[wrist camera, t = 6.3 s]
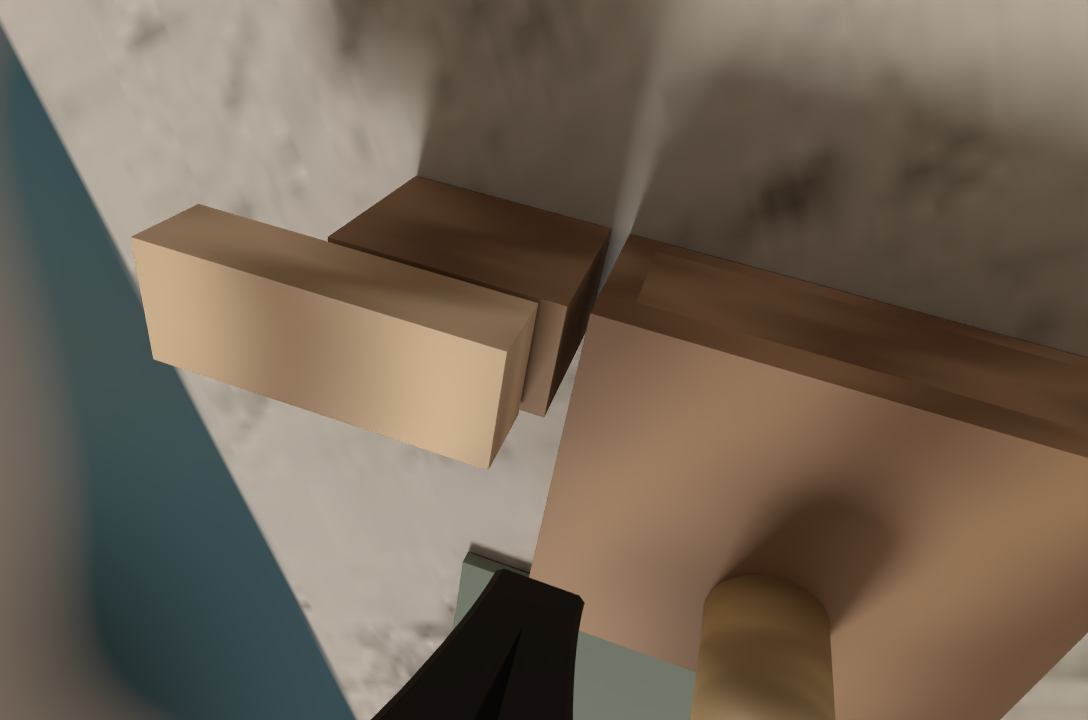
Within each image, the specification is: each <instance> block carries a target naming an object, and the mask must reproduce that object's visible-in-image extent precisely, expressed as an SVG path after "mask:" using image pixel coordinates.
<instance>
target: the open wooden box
mask: <svg viewBox="0 0 1088 720" xmlns="http://www.w3.org/2000/svg"><path fill="white" fill-rule="evenodd" d="M610 232H611V229H610V228H606V227H602V226H599V225H595V224H591V223H588V222H584V221H580V220H577V219H573V218H569V217H566V216H562V215H558V214H554V213H551V212H547V211H543V210H540V209H536V208H532V207H529V206H525V205H521V204H518V203H514V202H510V201H507V200H503V199H499V198H496V197H492V196H488V195H484V194H481V193H477V192H473V191H470V190H466V189H462V188H459V187H455V186H451V185H448V184H444V183H440V182H437V181H433V180H429V179H426V178H422V177H418V176H415V177H414V178H412V179H411V180H409V181H408V182H407V183H405V184H404V185H402V186H401V187H399V188H398V189H396V190H395V191H394V192H392V193H391V194H389V195H388V196H386V197H385V198H383V199H382V200H381V201H379V202H378V203H376V204H375V205H373V206H372V207H370V208H369V209H368V210H366V211H365V212H363V213H362V214H360V215H359V216H357V217H356V218H355V219H353V220H352V221H350V222H349V223H347V224H346V225H345V226H343V227H342V228H340V229H339V230H337V231H336V232H334V233H333V234H332V235H330V236H329V237H328V242H330V243H334V244H337V245H341V246H344V247H347V248H351V249H354V250H358V251H361V252H365V253H368V254H371V255H375V256H378V257H382V258H385V259H389V260H392V261H395V262H399V263H402V264H406V265H409V266H412V267H416V268H419V269H423V270H426V271H430V272H433V273H436V274H440V275H443V276H447V277H450V278H454V279H457V280H460V281H464V282H467V283H471V284H474V285H478V286H481V287H484V288H488V289H491V290H495V291H498V292H502V293H505V294H508V295H512V296H515V297H519V298H522V299H525V300H529V301H532V302H536V303H538V308H537V313H536V319H535V324H534V330H533V335H532V341H531V346H530V352H529V357H528V363H527V368H526V374H525V379H524V385H523V390H522V396H521V401H520V407H519V410H522V411H526V412H529V413H532V414H535V415H538V416H541V417H545V414H546V412H547V410H548V408H549V406H550V404H551V402H552V400H553V398H554V396H555V394H556V392H557V390H558V388H559V386H560V384H561V382H562V380H563V377H564V375H565V373H566V371H567V369H568V367H569V365H570V363H571V361H572V359H573V357H574V355H575V353H576V351H577V349H578V347H579V345H580V343H581V341H582V338H583V336H584V334H585V332H586V330H587V326H588V321H589V317H590V313H591V311H592V309H593V305H594V301H595V296H596V292H597V288H598V283H599V279H600V275H601V271H602V266H603V262H604V258H605V253H606V249H607V245H608V241H609V236H610ZM601 293H605V294H608V295H612V296H615V297H619V298H622V299H626V300H629V301H633V302H636V303H640V304H643V305H647V306H650V307H654V308H657V309H661V310H664V311H668V312H671V313H675V314H678V315H682V316H685V317H689V318H692V319H696V320H699V321H703V322H706V323H710V324H713V325H717V326H720V327H724V328H727V329H731V330H734V331H738V332H741V333H745V334H748V335H752V336H755V337H759V338H762V339H766V340H769V341H773V342H776V343H780V344H783V345H787V346H790V347H794V348H797V349H801V350H804V351H808V352H811V353H815V354H818V355H822V356H825V357H829V358H832V359H836V360H839V361H843V362H846V363H850V364H853V365H857V366H860V367H864V368H867V369H871V370H874V371H878V372H881V373H885V374H888V375H892V376H895V377H899V378H902V379H906V380H909V381H913V382H916V383H920V384H923V385H927V386H930V387H934V388H937V389H941V390H944V391H948V392H951V393H955V394H958V395H962V396H965V397H969V398H972V399H976V400H979V401H983V402H986V403H990V404H993V405H997V406H1000V407H1004V408H1007V409H1011V410H1014V411H1018V412H1021V413H1025V414H1028V415H1032V416H1035V417H1039V418H1042V419H1046V420H1049V421H1053V422H1056V423H1060V424H1063V425H1067V426H1070V427H1074V428H1077V429H1081V430H1084V431H1088V358H1085V357H1081V356H1078V355H1074V354H1070V353H1067V352H1063V351H1059V350H1056V349H1052V348H1048V347H1045V346H1041V345H1037V344H1034V343H1030V342H1026V341H1023V340H1019V339H1015V338H1011V337H1008V336H1004V335H1000V334H997V333H993V332H989V331H986V330H982V329H978V328H975V327H971V326H967V325H964V324H960V323H956V322H952V321H949V320H945V319H941V318H938V317H934V316H930V315H927V314H923V313H919V312H916V311H912V310H908V309H905V308H901V307H897V306H894V305H890V304H886V303H882V302H879V301H875V300H871V299H868V298H864V297H860V296H857V295H853V294H849V293H846V292H842V291H838V290H835V289H831V288H827V287H824V286H820V285H816V284H812V283H809V282H805V281H801V280H798V279H794V278H790V277H787V276H783V275H779V274H776V273H772V272H768V271H765V270H761V269H757V268H753V267H750V266H746V265H742V264H739V263H735V262H731V261H728V260H724V259H720V258H717V257H713V256H709V255H706V254H702V253H698V252H695V251H691V250H687V249H683V248H680V247H676V246H672V245H669V244H665V243H661V242H658V241H654V240H650V239H647V238H643V237H639V236H636V235H632V234H630V235H629V237H628V239H627V241H626V243H625V245H624V247H623V249H622V251H621V253H620V255H619V257H618V259H617V261H616V263H615V265H614V267H613V269H612V271H611V273H610V275H609V277H608V279H607V281H606V283H605V285H604V287H603V289H602V291H601Z"/></svg>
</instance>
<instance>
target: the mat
mask: <svg viewBox="0 0 1088 720" xmlns="http://www.w3.org/2000/svg"><path fill="white" fill-rule="evenodd" d="M500 569H507V570H510V571H512V572H515V573H518V574H521V575H524V576H526V577H529V575H530V574H529V573H526V572H523V571H520V570H517V569H514V568H511V567H509V566H506V565H503V564H500V563H497V562H494V561H492V560H489V559H486V558H483V557H480V556H477V555H475V554H472V553H469V552H468V553H467V555H466V557H465V559H464V561H463V566H462V572H461V579H460V586H459V593H458V600H457V607H456V613H455V620H454V627H453V630H454V628H455V627H456V626H457V625H458V623H459V622H460V621H461V620H462V619H463V617H464V616H465V615H466V613H467V612H468V611H469V609H470V608H471V607H472V605H473V604H474V603H475V601H476V600H477V599H478V597H479V596H480V594H481V593H482V591H483V590H484V589H485V587H486V586H487V584H488V583H489V581H490V579H491V578H492V576H493V575H494V573H495V571H497V570H500ZM695 675H696V672H693V671H690V670H687V669H685V668H682V667H679V666H676V665H673V664H671V663H668V662H665V661H662V660H660V659H657V658H654V657H651V656H648V655H646V654H643V653H640V652H637V651H635V650H632V649H629V648H626V647H624V646H621V645H618V644H615V643H612V642H610V641H607V640H604V639H601V638H599V637H596V636H593V635H590V634H587V633H585V632H582V631H579V634H578V641H577V650H576V660H575V676H574V695H573V720H691V708H692V699H693V691H694V683H695Z"/></svg>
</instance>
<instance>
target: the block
mask: <svg viewBox="0 0 1088 720" xmlns="http://www.w3.org/2000/svg"><path fill="white" fill-rule="evenodd" d="M131 242H132V247H133V253H134V258H135V263H136V269H137V274H138V279H139V285H140V290H141V295H142V301H143V306H144V311H145V316H146V322H147V327H148V332H149V337H150V343H151V348H152V354H153V359H155V360H158V361H161V362H164V363H167V364H170V365H173V366H176V367H179V368H182V369H185V370H188V371H191V372H194V373H197V374H200V375H203V376H206V377H209V378H212V379H215V380H218V381H221V382H224V383H227V384H230V385H233V386H236V387H239V388H242V389H245V390H248V391H251V392H254V393H257V394H260V395H263V396H266V397H269V398H272V399H275V400H278V401H281V402H284V403H287V404H290V405H293V406H296V407H299V408H302V409H305V410H308V411H311V412H314V413H317V414H320V415H323V416H326V417H329V418H332V419H335V420H338V421H341V422H344V423H347V424H350V425H353V426H356V427H359V428H362V429H365V430H368V431H371V432H374V433H377V434H380V435H383V436H386V437H390V438H393V439H396V440H399V441H402V442H405V443H408V444H411V445H414V446H417V447H420V448H423V449H426V450H429V451H432V452H435V453H438V454H441V455H444V456H447V457H450V458H453V459H456V460H459V461H462V462H465V463H468V464H471V465H474V466H477V467H480V468H483V469H486V470H488V469H489V468H490V466H491V464H492V462H493V460H494V458H495V457H496V455H497V453H498V451H499V449H500V447H501V445H502V444H503V442H504V440H505V438H506V436H507V434H508V433H509V431H510V429H511V427H512V425H513V423H514V421H515V420H516V418H517V416H518V412H519V407H520V401H521V396H522V390H523V385H524V379H525V374H526V368H527V363H528V357H529V352H530V346H531V341H532V335H533V330H534V324H535V319H536V313H537V308H538V303H536V302H532V301H529V300H525V299H522V298H519V297H515V296H512V295H508V294H505V293H502V292H498V291H495V290H491V289H488V288H484V287H481V286H478V285H474V284H471V283H467V282H464V281H460V280H457V279H454V278H450V277H447V276H443V275H440V274H436V273H433V272H430V271H426V270H423V269H419V268H416V267H412V266H409V265H406V264H402V263H399V262H395V261H392V260H389V259H385V258H382V257H378V256H375V255H371V254H368V253H365V252H361V251H358V250H354V249H351V248H347V247H344V246H341V245H337V244H334V243H330V242H327V241H323V240H320V239H317V238H313V237H310V236H306V235H303V234H299V233H296V232H293V231H289V230H286V229H282V228H279V227H275V226H272V225H269V224H265V223H262V222H258V221H255V220H252V219H248V218H245V217H241V216H238V215H234V214H231V213H228V212H224V211H221V210H217V209H214V208H210V207H207V206H204V205H200V204H198V205H196V206H194V207H192V208H190V209H187V210H185V211H183V212H181V213H179V214H177V215H175V216H173V217H171V218H169V219H167V220H165V221H163V222H161V223H159V224H156V225H154V226H152V227H150V228H148V229H146V230H144V231H142V232H140V233H138V234H136V235H134V236H132V237H131Z"/></svg>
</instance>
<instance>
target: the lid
mask: <svg viewBox="0 0 1088 720" xmlns="http://www.w3.org/2000/svg"><path fill="white" fill-rule="evenodd" d="M529 578H532V579H535V580H538V581H540V582H543V583H546V584H549V585H552V586H554V587H557V588H560V589H563V590H566V591H568V592H571V593H574V594H577V595H579V596H580V597H581V598H582V600H583V601H584V603H585V604H584V608H583V612H582V616H581V622H580V627H579V631H582V632H585V633H587V634H590V635H593V636H596V637H599V638H601V639H604V640H607V641H610V642H612V643H615V644H618V645H621V646H624V647H626V648H629V649H632V650H635V651H637V652H640V653H643V654H646V655H648V656H651V657H654V658H657V659H660V660H662V661H665V662H668V663H671V664H673V665H676V666H679V667H682V668H685V669H687V670H690V671H693V672H696V675H695V683H694V691H693V699H692V708H691V720H1000V719H1001V718H1002V717H1003V716H1004V715H1005V714H1006V713H1007V712H1008V711H1009V710H1010V709H1011V708H1012V707H1013V706H1014V705H1015V704H1016V703H1017V702H1018V701H1019V700H1020V699H1021V698H1022V697H1023V696H1024V695H1025V694H1026V693H1027V692H1028V691H1029V690H1030V689H1031V688H1032V687H1033V686H1034V685H1035V684H1036V683H1037V682H1038V681H1039V680H1040V679H1041V678H1042V677H1043V676H1044V675H1045V674H1046V673H1047V672H1048V671H1049V670H1050V669H1052V668H1053V667H1054V666H1055V665H1056V664H1057V663H1058V662H1059V661H1060V660H1061V659H1062V658H1063V657H1064V656H1065V655H1066V654H1067V653H1068V652H1069V651H1070V650H1071V649H1072V648H1073V647H1074V646H1075V645H1076V644H1077V643H1078V642H1079V641H1080V640H1081V639H1082V638H1083V637H1084V636H1085V635H1086V634H1087V633H1088V431H1084V430H1081V429H1077V428H1074V427H1070V426H1067V425H1063V424H1060V423H1056V422H1053V421H1049V420H1046V419H1042V418H1039V417H1035V416H1032V415H1028V414H1025V413H1021V412H1018V411H1014V410H1011V409H1007V408H1004V407H1000V406H997V405H993V404H990V403H986V402H983V401H979V400H976V399H972V398H969V397H965V396H962V395H958V394H955V393H951V392H948V391H944V390H941V389H937V388H934V387H930V386H927V385H923V384H920V383H916V382H913V381H909V380H906V379H902V378H899V377H895V376H892V375H888V374H885V373H881V372H878V371H874V370H871V369H867V368H864V367H860V366H857V365H853V364H850V363H846V362H843V361H839V360H836V359H832V358H829V357H825V356H822V355H818V354H815V353H811V352H808V351H804V350H801V349H797V348H794V347H790V346H787V345H783V344H780V343H776V342H773V341H769V340H766V339H762V338H759V337H755V336H752V335H748V334H745V333H741V332H738V331H734V330H731V329H727V328H724V327H720V326H717V325H713V324H710V323H706V322H703V321H699V320H696V319H692V318H689V317H685V316H682V315H678V314H675V313H671V312H668V311H664V310H661V309H657V308H654V307H650V306H647V305H643V304H640V303H636V302H633V301H629V300H626V299H622V298H619V297H615V296H612V295H608V294H605V293H600V295H599V297H598V299H597V301H596V303H595V305H594V307H593V309H592V311H591V313H590V317H589V321H588V326H587V330H586V334H585V338H584V343H583V347H582V351H581V356H580V360H579V364H578V369H577V373H576V377H575V382H574V386H573V390H572V394H571V399H570V403H569V407H568V412H567V416H566V420H565V425H564V429H563V433H562V438H561V442H560V446H559V450H558V455H557V459H556V463H555V468H554V472H553V476H552V481H551V485H550V489H549V494H548V498H547V502H546V506H545V511H544V515H543V519H542V524H541V528H540V532H539V537H538V541H537V545H536V550H535V554H534V558H533V562H532V567H531V571H530V575H529Z"/></svg>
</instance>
